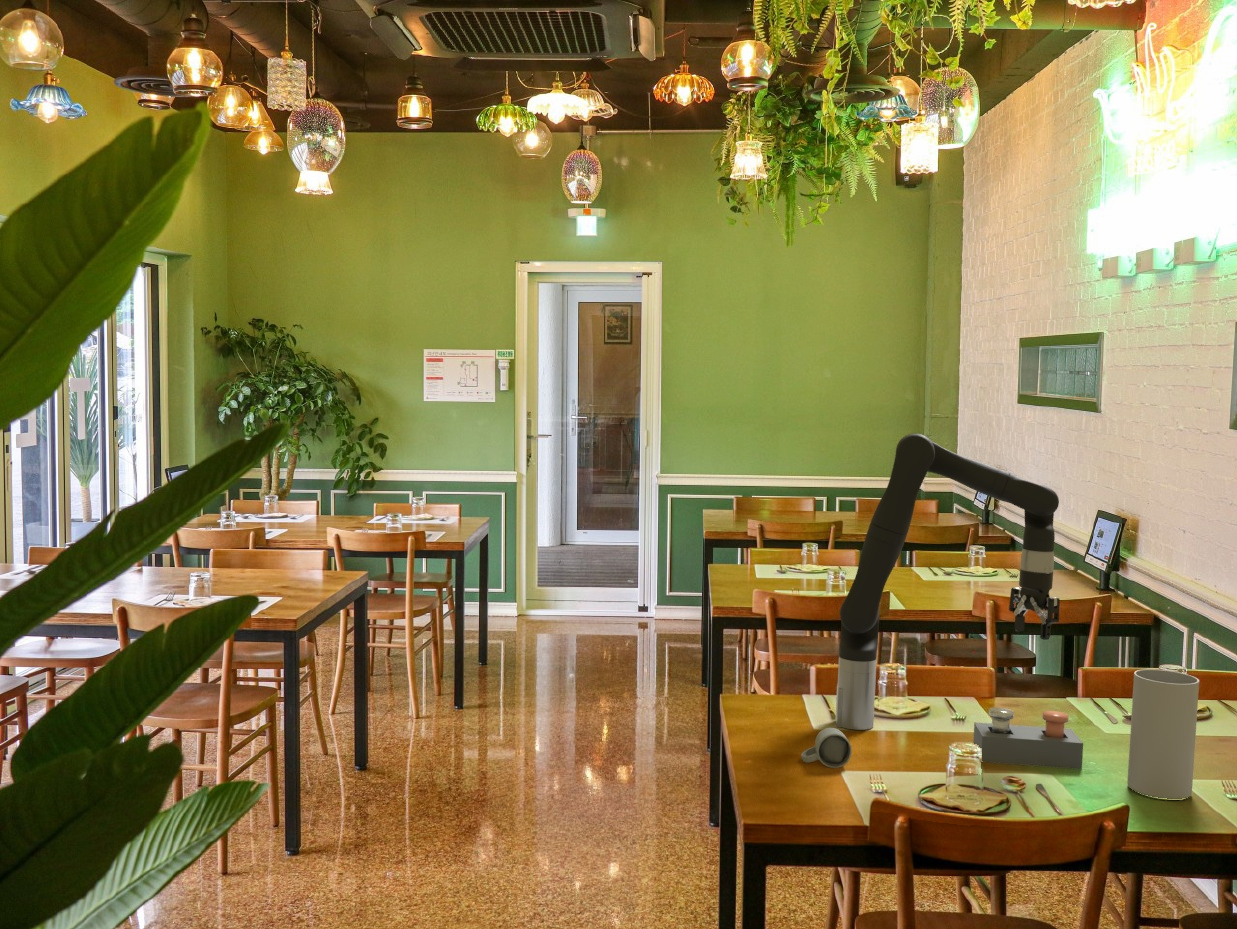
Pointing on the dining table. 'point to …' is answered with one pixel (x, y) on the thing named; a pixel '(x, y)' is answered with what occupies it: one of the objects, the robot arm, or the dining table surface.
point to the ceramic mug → (829, 749)
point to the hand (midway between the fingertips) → (1031, 635)
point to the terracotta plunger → (1055, 723)
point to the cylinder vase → (1163, 733)
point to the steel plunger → (1001, 719)
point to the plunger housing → (1029, 747)
